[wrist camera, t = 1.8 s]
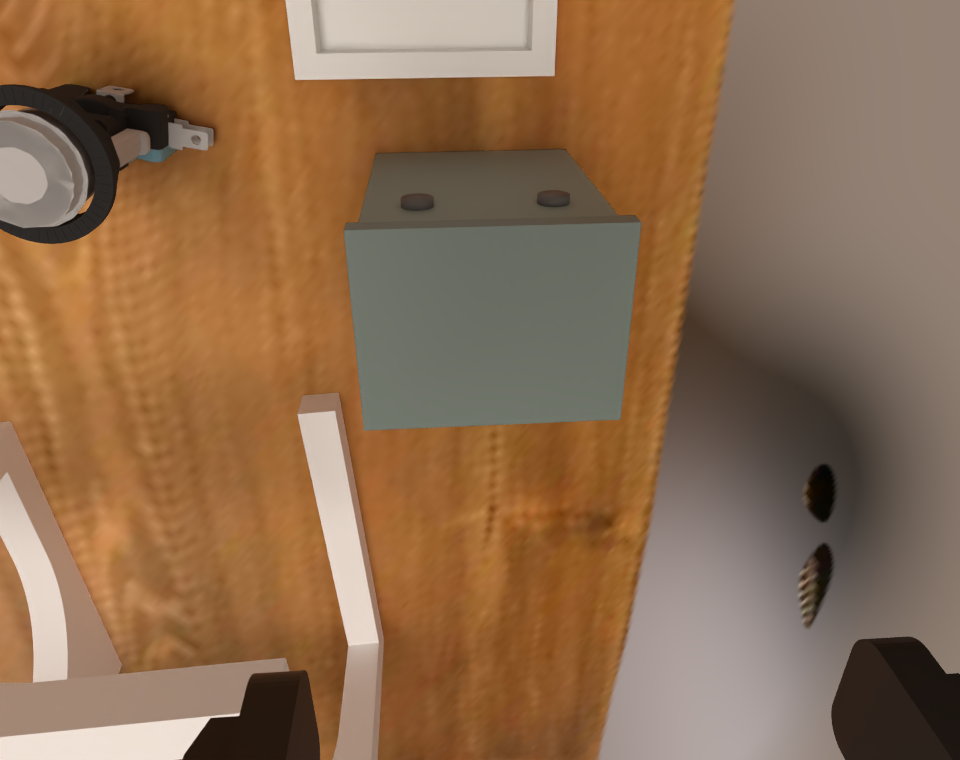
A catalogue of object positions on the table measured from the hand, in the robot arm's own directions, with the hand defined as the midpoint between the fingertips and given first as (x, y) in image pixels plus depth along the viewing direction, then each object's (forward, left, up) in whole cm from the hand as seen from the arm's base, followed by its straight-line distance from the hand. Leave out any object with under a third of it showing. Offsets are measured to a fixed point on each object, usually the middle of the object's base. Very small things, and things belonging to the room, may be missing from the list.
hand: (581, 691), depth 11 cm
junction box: (+2, 0, -28) cm, 28 cm away
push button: (-3, -15, -29) cm, 32 cm away
